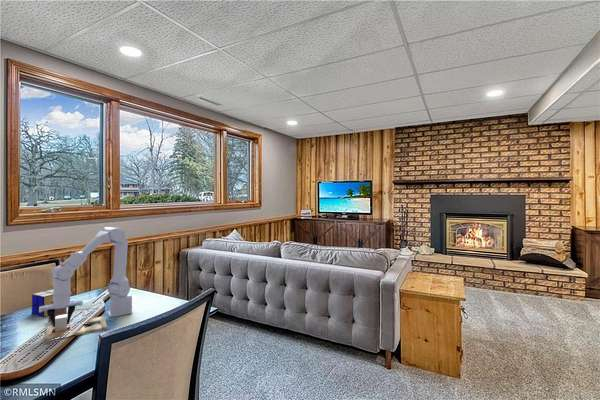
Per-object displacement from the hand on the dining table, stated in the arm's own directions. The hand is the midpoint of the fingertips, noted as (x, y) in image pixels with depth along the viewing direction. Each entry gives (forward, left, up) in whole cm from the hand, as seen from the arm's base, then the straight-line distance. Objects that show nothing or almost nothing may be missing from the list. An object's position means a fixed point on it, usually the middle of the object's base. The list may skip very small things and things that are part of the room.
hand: (61, 325), depth 125 cm
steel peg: (0, 0, -2) cm, 2 cm away
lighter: (+2, -19, -3) cm, 19 cm away
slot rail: (-6, 0, -3) cm, 6 cm away
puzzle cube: (+6, -32, -3) cm, 33 cm away
